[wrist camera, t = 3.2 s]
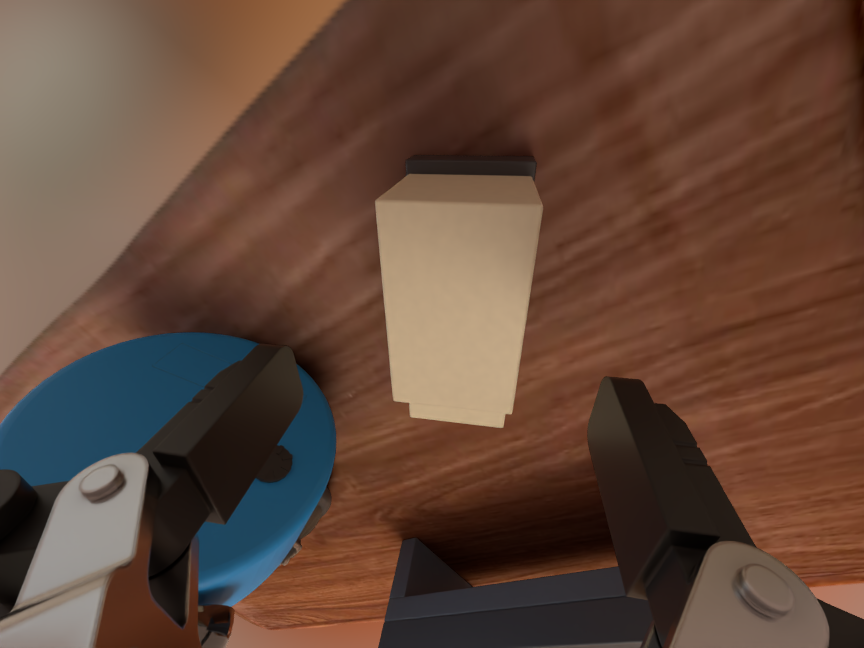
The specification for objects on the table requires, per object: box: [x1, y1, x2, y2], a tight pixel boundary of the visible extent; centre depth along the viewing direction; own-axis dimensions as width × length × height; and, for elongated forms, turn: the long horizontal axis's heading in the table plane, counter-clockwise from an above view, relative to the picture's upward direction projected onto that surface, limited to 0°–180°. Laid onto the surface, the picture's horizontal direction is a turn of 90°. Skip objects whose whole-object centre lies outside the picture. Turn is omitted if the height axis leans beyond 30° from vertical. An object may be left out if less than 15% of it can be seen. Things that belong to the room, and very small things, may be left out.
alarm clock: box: [0, 332, 336, 648], centre depth 17 cm, size 13×6×15 cm, turn 64°
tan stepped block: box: [375, 155, 543, 428], centre depth 15 cm, size 12×5×6 cm, turn 1°
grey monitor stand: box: [378, 538, 653, 648], centre depth 26 cm, size 22×10×8 cm, turn 127°
